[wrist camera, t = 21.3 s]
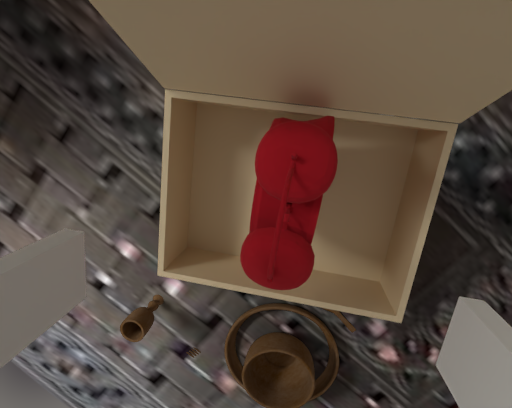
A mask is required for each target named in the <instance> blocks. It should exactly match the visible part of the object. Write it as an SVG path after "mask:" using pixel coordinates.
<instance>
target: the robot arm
mask: <svg viewBox="0 0 512 408" xmlns="http://www.w3.org/2000/svg"><path fill="white" fill-rule="evenodd" d="M86 297H87V294H86V266H85V238H84V232H83V231H77V230H71V229H66V228H65V229H63V230H60V231H58V232H56V233H54V234H52V235H50V236H47V237H45V238H43V239H41V240H39V241H36V242H34V243H32V244H30V245H28V246H25V247H23V248H21V249H19V250H17V251H14V252H12V253H10V254H8V255H6V256H4V257H1V258H0V368H1V367H3V366H4V365H5V364H6V363H8V362H9V361H10V360H11V359H12V358H14V357H15V356H16V355H17V354H19V353H20V352H21V351H22V350H23V349H25V348H26V347H27V346H28V345H29V344H31V343H32V342H33V341H34V340H35V339H37V338H38V337H39V336H40V335H41V334H43V333H44V332H45V331H46V330H48V329H49V328H50V327H51V326H52V325H54V324H55V323H56V322H57V321H58V320H60V319H61V318H62V317H63V316H64V315H66V314H67V313H68V312H69V311H71V310H72V309H73V308H74V307H75V306H77V305H78V304H79V303H80V302H81V301H83V300H84V299H85V298H86ZM436 367H437V369H438V370H439V372H440V374H441V376H442V377H443V379H444V381H445V383H446V385H447V386H448V388H449V390H450V392H451V394H452V395H453V397H454V399H455V401H456V403H457V404H458V406H459V408H512V327H511V326H510V325H509V324H508V323H507V322H506V321H505V320H504V319H503V318H502V317H501V316H499V315H498V314H497V313H496V312H495V311H494V310H493V309H492V308H491V307H490V306H489V305H488V304H487V303H486V302H485V301H483V300H478V299H472V298H466V297H460V296H459V299H458V301H457V304H456V307H455V310H454V313H453V316H452V319H451V322H450V325H449V328H448V331H447V333H446V336H445V339H444V342H443V345H442V348H441V351H440V354H439V357H438V360H437V363H436Z"/></svg>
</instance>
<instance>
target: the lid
mask: <svg viewBox="0 0 512 408" xmlns="http://www.w3.org/2000/svg"><path fill="white" fill-rule="evenodd" d="M89 1H90V3H91V4H92V5H93V6H94V7H95V8H96V10H97V11H98V12H99V13H100V14H101V15H102V17H103V18H104V19H105V20H106V21H107V22H108V24H109V25H110V26H111V27H112V28H113V29H114V31H115V32H116V33H117V34H118V35H119V36H120V38H121V39H122V40H123V41H124V42H125V43H126V45H127V46H128V47H129V48H130V49H131V50H132V51H133V53H134V54H135V55H136V56H137V57H138V58H139V60H140V61H141V62H142V63H143V64H144V65H145V67H146V68H147V69H148V70H149V71H150V72H151V74H152V75H153V76H154V77H155V78H156V79H157V81H158V82H159V83H160V84H161V85H162V86H163V88H166V89H174V90H183V91H191V92H200V93H208V94H217V95H225V96H234V97H242V98H250V99H259V100H267V101H276V102H284V103H293V104H301V105H310V106H318V107H326V108H335V109H343V110H352V111H360V112H369V113H377V114H386V115H394V116H402V117H411V118H419V119H428V120H436V121H445V122H453V123H461V122H463V121H464V120H466V119H467V118H469V117H470V116H472V115H474V114H475V113H477V112H478V111H480V110H481V109H483V108H484V107H486V106H488V105H489V104H491V103H492V102H494V101H495V100H497V99H498V98H500V97H502V96H503V95H505V94H506V93H508V92H509V91H511V90H512V0H89Z"/></svg>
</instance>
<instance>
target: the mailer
mask: <svg viewBox="0 0 512 408" xmlns="http://www.w3.org/2000/svg"><path fill="white" fill-rule="evenodd" d="M325 116H334V118H335V126H334V135H333V141H334V143H335V146H336V150H337V157H338V164H337V171H336V174H335V178H334V180H333V182H332V184H331V186H330V187H329V189H328V190H327V191H326V192H325V193H324V194H323V198H322V202H321V207H320V211H319V216H318V220H317V224H316V228H315V233H314V236H313V240H312V244H311V246H312V249H313V252H314V255H315V258H314V266H313V270H312V273H311V275H310V277H309V278H308V280H307V281H306V282H305V283H304V284H302V285H301V286H299V287H297V288H294V289H291V290H274V289H270V288H266V287H263V286H261V285H259V284H257V283H255V282H254V281H252V280H251V279H250V278H249V277H248V276H247V275H246V274H245V272H244V270H243V268H242V265H241V262H240V253H241V248H242V244H243V242H244V240H245V238H246V237H247V235H248V234H249V229H250V218H251V210H252V203H253V197H254V191H255V185H256V180H257V177H256V173H255V156H256V152H257V148H258V145H259V143H260V141H261V139H262V138H263V136H264V135H265V134H266V132H267V131H269V129H270V127H271V124H272V122H273V120H274V119H275V118H282V117H284V118H288V119H292V120H298V121H308V120H313V119H319V118H322V117H325ZM457 127H458V124H453V123H445V122H437V121H428V120H420V119H411V118H403V117H395V116H386V115H378V114H369V113H361V112H352V111H344V110H336V109H327V108H319V107H310V106H302V105H293V104H285V103H277V102H268V101H260V100H251V99H243V98H235V97H226V96H218V95H209V94H201V93H192V92H184V91H176V90H167V89H165V106H164V130H163V154H162V178H161V202H160V226H159V250H158V274H157V276H163V277H168V278H173V279H178V280H183V281H188V282H193V283H198V284H204V285H209V286H214V287H219V288H224V289H229V290H234V291H239V292H244V293H250V294H255V295H260V296H265V297H270V298H275V299H280V300H285V301H291V302H296V303H301V304H306V305H311V306H316V307H321V308H326V309H331V310H337V311H342V312H347V313H352V314H357V315H362V316H367V317H372V318H378V319H383V320H388V321H393V322H398V323H402V319H403V316H404V312H405V309H406V305H407V302H408V298H409V295H410V291H411V288H412V284H413V281H414V277H415V274H416V270H417V267H418V263H419V260H420V256H421V253H422V249H423V246H424V242H425V239H426V235H427V232H428V228H429V225H430V221H431V218H432V214H433V211H434V207H435V204H436V200H437V197H438V193H439V190H440V186H441V183H442V179H443V176H444V172H445V169H446V165H447V162H448V158H449V155H450V151H451V148H452V144H453V141H454V137H455V134H456V130H457Z"/></svg>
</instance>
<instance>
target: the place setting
mask: <svg viewBox="0 0 512 408" xmlns="http://www.w3.org/2000/svg"><path fill="white" fill-rule="evenodd" d="M163 302H164V300H163V298H162V296H160V295H155V296H154V297H153V301H151V302H149V304H148V307H147V308H146V307H140V308H137V309H136V310H134V311H133V312H132V313H131V314H130V315H129V316H128V317H127V318H126V319H125V320H124V321H123V322H122V324H121V326H120V331H121V334H122V335H123V337H124V338H125V339H127V340H129V341H131V342H138V341H140V340H141V339H142V338H143V337H144V336H145V335H146V333H147V332H148V331H149V329H150V328H151V326H152V324H153V321H154V315H153V311H155V310H156V309H157V308H158V306H159V305H161V304H163ZM322 309H324V310H327V311H330V312H332V313H334V314H335V315H336V316H337V317H338V318H339V319H340V320H341V321H342V322H343V323H344V324H345V325H346V327H347V328H348V329H349V330H350V331H351V332H354V331H356V329H355V328H354V327H353V326H352V324H351V323H350V322H349V321H348V320H347V319H346V318H345V317H344V316H343V315H342V314H341V313H340V311H337V310H331V309H326V308H322ZM265 310H286V311H292V312H295V313H298V314H301V315H303V316H305V317H307V318H309V319H310V320H312V321H313V322H315V323H316V324H317V325H318V326H319V327H320V329H321V330H322V331H323V333H324V335H325V336H326V339H327V341H328V345H329V360H328V364H327V366H326V368H325V370H324V372H323V373H322V374H321V376H320V377H319V378H317V379H316V380H315V372H314V363H313V359H312V356H311V354H310V352H309V350H308V348H307V347H306V346H305V345H304V343H302V342H301V341H300V340H299V339H297V338H296V337H294V336H292V335H289V334H286V333H280V332H274V333H269V334H265V335H263V336H261V337H259V338H258V339H257V340H256V341H255V342H254V343H253V344H252V345H251V347H250V349H249V351H248V353H247V356H246V359H245V362H244V366H242V365H241V363H240V361H239V359H238V357H237V354H236V349H235V340H236V335H237V332H238V330H239V328H240V326H241V325H242V323H243V322H244V321H245V320H246V319H247V318H248V317H250V316H251V315H253V314H254V313H257V312H261V311H265ZM193 348H194V347H193ZM194 349H195V350H197V351H198V352H200V351H199V350H198V349H196V348H194ZM191 350H192V351H194V350H193V349H191ZM189 352H191V351H189ZM194 352H195V353H197V352H196V351H194ZM187 353H188V352H187ZM191 353H192V354H193V355H195V356H196V354H194V353H193V352H191ZM200 353H201V352H200ZM188 354H189V355H190V356H192V357H193V358H194V356H193V355H191V354H190V353H188ZM197 354H198V353H197ZM198 355H199V354H198ZM225 359H226V363H227V366H228V369H229V371H230V373H231V374H232V376H233V377H234V379H235V380H236V381H237V382H238V384H239V385H240V386H241V387H243V388H244V389H245V390H246V392H247V393H248V394H249V396H250V397H251V398H252V399H253V400H254V401H256V402H257V403H258V404H260V405H262V406H264V407H266V408H299V407H301V406H303V405H304V404H305V403H307V402H308V401H311V400H313V399H315V398H317V397H319V396H320V395H322V394H323V393H324V392H325V391H326V390H328V388H329V387H330V386H331V385H332V383H333V382H334V380H335V378H336V375H337V373H338V368H339V353H338V349H337V345H336V342H335V340H334V338H333V336H332V334H331V332H330V331H329V329H328V328H327V327H326V326H325V324H324V323H323V322H322V321H321V320H320V319H318V318H317V317H316V316H314V315H313V314H311V313H310V312H308V311H306V310H304V309H302V308H300V307H297V306H293V305H289V304H281V303H271V304H264V305H261V306H257V307H255V308H252V309H250V310H249V311H247V312H245V313H244V314H243V315H241V316H240V317H239V318H238V319H237V320H236V321H235V323H234V324H233V325H232V327H231V329H230V331H229V333H228V335H227V338H226V342H225Z"/></svg>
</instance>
